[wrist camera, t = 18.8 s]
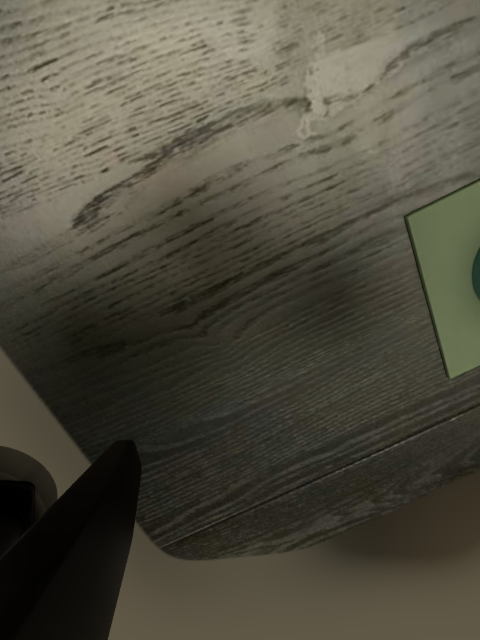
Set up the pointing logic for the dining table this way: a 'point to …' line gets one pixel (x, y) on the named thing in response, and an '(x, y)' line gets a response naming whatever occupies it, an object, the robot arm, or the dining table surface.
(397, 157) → the dining table surface
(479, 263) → the teal cup
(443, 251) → the mat
